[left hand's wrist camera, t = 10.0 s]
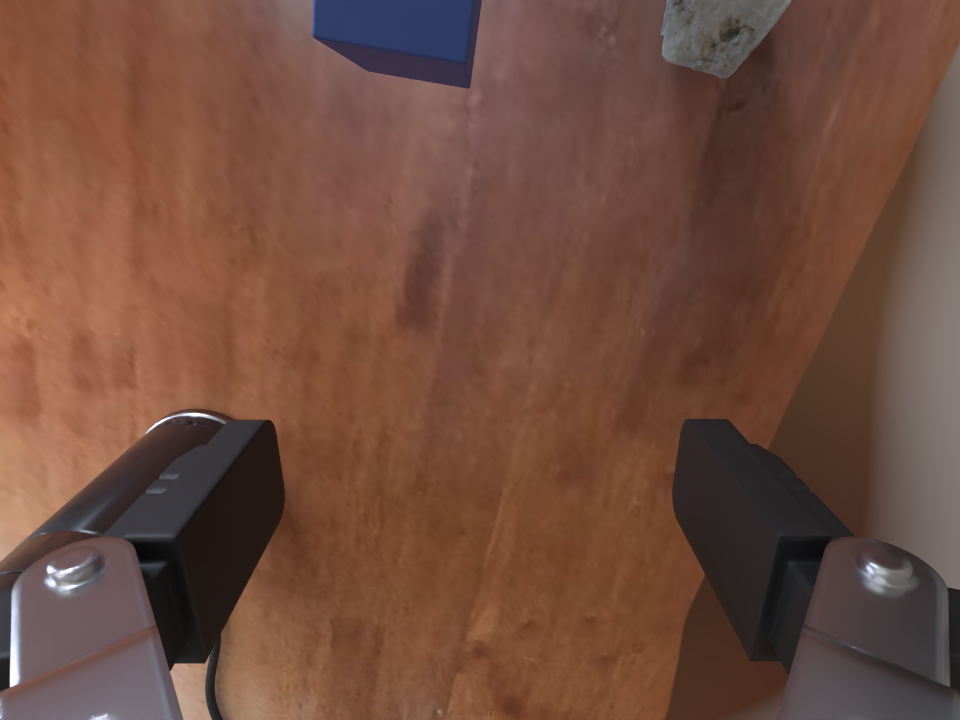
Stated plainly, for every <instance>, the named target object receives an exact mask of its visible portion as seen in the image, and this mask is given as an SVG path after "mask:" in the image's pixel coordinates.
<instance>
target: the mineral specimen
mask: <svg viewBox="0 0 960 720" xmlns="http://www.w3.org/2000/svg"><path fill="white" fill-rule="evenodd" d="M790 3H791V0H668V1H666V8H665V13H664V19H663V24H662V30H661V36H663V38H664V39H663V45H662V55H663V57H664V59H665V61H667V62H670V63H673V64H676V65H680V66H686V67H689V68H692V69H693V70H695V71H701V72H706V73H709V74H712V75H715V76H717V77H719V78H721V79H726V78H728V77H730V76H731V75H732V74H733V73H734V72H735V71H736V70H737V68H738V67H739V66H740V65H741V64H742V63H743V61H744V60H745V59H746V58H747V57H748V56H749V54H750V52H751V51H752V50H753V49H754V48H756V47H757V46H758V45H759V44H760V42H761V41H762V40H763V39H764V37H765V36H766V35H767V34H768V32H769V31H770V30H771V29H772V27H773V26H774V25H775V24H776V22H777V21H778V19H779V18H780V17H781V15H782V14H783V13H784V12H785V10H786V9H787V8H788V6H789V5H790Z"/></svg>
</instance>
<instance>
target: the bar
mask: <svg viewBox="0 0 960 720" xmlns="http://www.w3.org/2000/svg"><path fill="white" fill-rule="evenodd" d="M481 2H482V0H314V2H313V26H312V36H313V38H315V39H317V40H318V41H320V42H321V43H323V44H325V45H326V46H328V47H330V48H331V49H333V50H334V51H336V52H338V53H339V54H341V55H343V56H344V57H346V58H347V59H349V60H351V61H352V62H354V63H356V64H357V65H359V66H360V67H362V68H364V69H365V70H367V71H369V72H375V73H381V74H387V75H393V76H398V77H404V78H410V79H416V80H422V81H427V82H433V83H439V84H445V85H451V86H457V87H462V88H470V84H471V76H472V69H473V61H474V54H475V46H476V39H477V31H478V24H479V17H480V9H481Z"/></svg>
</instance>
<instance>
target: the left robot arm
mask: <svg viewBox="0 0 960 720" xmlns="http://www.w3.org/2000/svg"><path fill="white" fill-rule="evenodd" d="M672 498H673V507H674V512H675V516H676V519H677V521H678V523H679V525H680V527H681V529H682V530H683V532H684V534H685V536H686V538H687V540H688V542H689V544H690V546H691V548H692V550H693V552H694V553H695V555H696V557H697V559H698V561H699V563H700V565H701V567H702V569H703V571H704V573H705V575H706V577H707V578H708V580H709V582H710V584H711V586H712V588H713V590H714V592H715V594H716V596H717V598H718V600H719V601H720V603H721V605H722V607H723V609H724V611H725V613H726V615H727V617H728V619H729V621H730V622H731V624H732V626H733V628H734V630H735V632H736V634H737V636H738V638H739V640H740V642H741V644H742V646H743V647H744V649H745V651H746V653H747V655H748V657H749V659H750V661H781V663H782V665H783V667H784V668H785V670H786V672H787V674H788V675H789V678H788V681H787V685H786V689H785V692H784V696H783V699H782V703H781V706H780V710H779V713H778V717H777V720H960V590H957V589H953V588H948V587H947V586H946V584H945V582H944V580H943V579H942V578H941V577H940V575H939V574H938V573H937V572H936V571H935V570H934V569H933V568H932V567H930V566H929V565H928V564H927V563H925V562H924V561H922V560H921V559H919V558H918V557H916V556H915V555H913V554H911V553H909V552H907V551H905V550H903V549H901V548H899V547H896V546H894V545H891V544H888V543H885V542H882V541H878V540H874V539H870V538H863V537H855V536H854V535H853V534H852V533H851V532H850V531H849V529H848V528H847V527H846V526H845V525H844V524H843V523H842V522H841V521H840V520H839V519H838V518H837V517H836V516H835V515H834V514H833V513H832V512H831V511H830V510H829V508H828V507H827V506H826V505H825V504H824V503H823V502H822V501H821V500H820V499H819V498H818V497H817V496H816V495H815V494H814V493H813V492H810V489H809V487H808V486H807V485H806V484H805V483H804V482H803V481H802V480H801V479H800V478H797V477H796V474H795V473H794V472H793V471H792V470H791V468H790V467H789V466H788V465H787V464H786V463H785V462H784V461H783V460H782V459H781V458H780V457H778V456H776V455H774V454H773V453H771V452H769V451H768V450H766V449H764V448H762V447H761V446H759V445H757V444H750V443H749V442H748V441H747V440H746V439H745V438H744V437H743V436H742V434H741V433H740V432H739V431H738V430H737V429H736V428H735V427H734V426H733V424H732V423H731V422H730V421H729V420H727V419H687V420H685V421H684V423H683V425H682V428H681V434H680V440H679V447H678V454H677V461H676V468H675V475H674V482H673V490H672ZM284 500H285V490H284V483H283V476H282V469H281V462H280V455H279V449H278V442H277V435H276V430H275V426H274V424H273V423H272V421H270V420H233V419H231V418H229V417H227V416H225V415H223V414H220V413H217V412H214V411H209V410H203V409H187V410H181V411H177V412H174V413H171V414H169V415H167V416H165V417H164V418H162V419H161V420H159V421H158V422H157V423H156V424H155V425H154V426H152V427H151V428H150V429H149V430H148V431H147V433H146V434H145V435H144V436H143V437H142V438H141V439H140V440H139V441H138V442H136V443H135V444H134V445H133V446H131V447H130V448H129V449H128V450H127V451H126V452H125V453H123V454H122V455H121V456H120V457H119V458H118V459H117V460H115V461H114V462H113V463H112V464H111V465H110V466H109V467H107V468H106V469H105V470H104V471H103V472H102V473H101V474H99V475H98V476H97V477H96V478H95V479H94V480H93V481H91V482H90V483H89V484H88V485H87V486H86V487H85V488H83V489H82V490H81V491H80V492H79V493H78V494H77V495H75V496H74V497H73V498H72V499H71V500H70V501H69V502H67V503H66V504H65V505H64V506H63V507H62V508H61V509H59V510H58V511H57V512H56V513H55V514H54V515H53V516H51V517H50V518H49V519H48V520H47V521H46V522H45V523H43V524H42V525H41V526H40V527H39V528H38V529H37V530H35V531H34V532H33V533H32V534H31V535H30V536H29V537H27V538H26V539H25V540H24V541H23V542H22V543H21V544H19V545H18V546H17V547H16V548H15V549H14V550H13V551H12V552H11V553H9V554H8V555H7V556H6V557H5V558H4V559H3V560H1V561H0V720H183V717H182V713H181V710H180V706H179V703H178V699H177V696H176V692H175V688H174V685H173V681H172V678H171V674H170V671H171V669H172V667H173V666H174V664H175V663H205V662H206V660H207V658H208V657H209V655H210V658H209V664H208V669H207V675H206V686H205V691H206V701H207V706H208V710H209V713H210V715H211V718H212V720H223V719H222V717H221V715H220V712H219V710H218V706H217V703H216V698H215V674H216V668H217V663H218V658H219V652H220V643H221V632H222V630H223V628H224V626H225V624H226V622H227V621H228V619H229V617H230V615H231V613H232V611H233V609H234V607H235V605H236V603H237V602H238V600H239V598H240V596H241V594H242V592H243V590H244V588H245V586H246V584H247V583H248V581H249V579H250V577H251V575H252V573H253V571H254V569H255V567H256V566H257V564H258V562H259V560H260V558H261V556H262V554H263V552H264V550H265V548H266V547H267V545H268V543H269V541H270V539H271V537H272V535H273V533H274V531H275V530H276V528H277V526H278V524H279V522H280V520H281V517H282V513H283V508H284Z"/></svg>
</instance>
